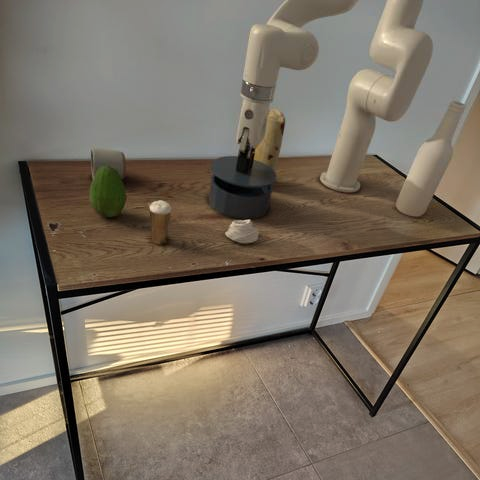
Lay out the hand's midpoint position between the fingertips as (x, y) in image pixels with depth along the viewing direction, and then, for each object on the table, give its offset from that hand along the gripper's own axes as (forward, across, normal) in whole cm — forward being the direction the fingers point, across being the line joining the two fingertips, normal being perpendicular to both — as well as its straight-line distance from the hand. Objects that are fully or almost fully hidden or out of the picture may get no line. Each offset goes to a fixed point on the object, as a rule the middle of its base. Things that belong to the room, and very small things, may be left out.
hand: (244, 169), depth 110 cm
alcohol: (+9, +26, -46) cm, 54 cm away
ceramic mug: (+10, -6, +35) cm, 37 cm away
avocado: (+10, -23, +25) cm, 35 cm away
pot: (+9, 0, 0) cm, 9 cm away
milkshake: (+10, -27, +11) cm, 31 cm away
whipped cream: (+10, -16, -5) cm, 19 cm away
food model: (+10, +16, -2) cm, 19 cm away
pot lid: (+1, 0, 0) cm, 1 cm away
